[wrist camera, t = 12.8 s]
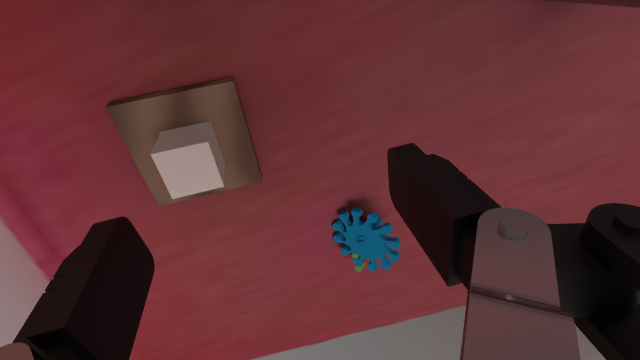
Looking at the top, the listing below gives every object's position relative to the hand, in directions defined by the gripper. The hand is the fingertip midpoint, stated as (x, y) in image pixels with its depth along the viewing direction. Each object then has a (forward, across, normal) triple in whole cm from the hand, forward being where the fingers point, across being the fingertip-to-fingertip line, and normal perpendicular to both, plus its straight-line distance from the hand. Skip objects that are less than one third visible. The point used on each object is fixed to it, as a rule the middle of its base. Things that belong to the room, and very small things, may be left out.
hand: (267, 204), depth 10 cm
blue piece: (+27, -8, +27) cm, 39 cm away
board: (+26, +8, +8) cm, 29 cm away
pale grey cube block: (+25, +8, +8) cm, 27 cm away
